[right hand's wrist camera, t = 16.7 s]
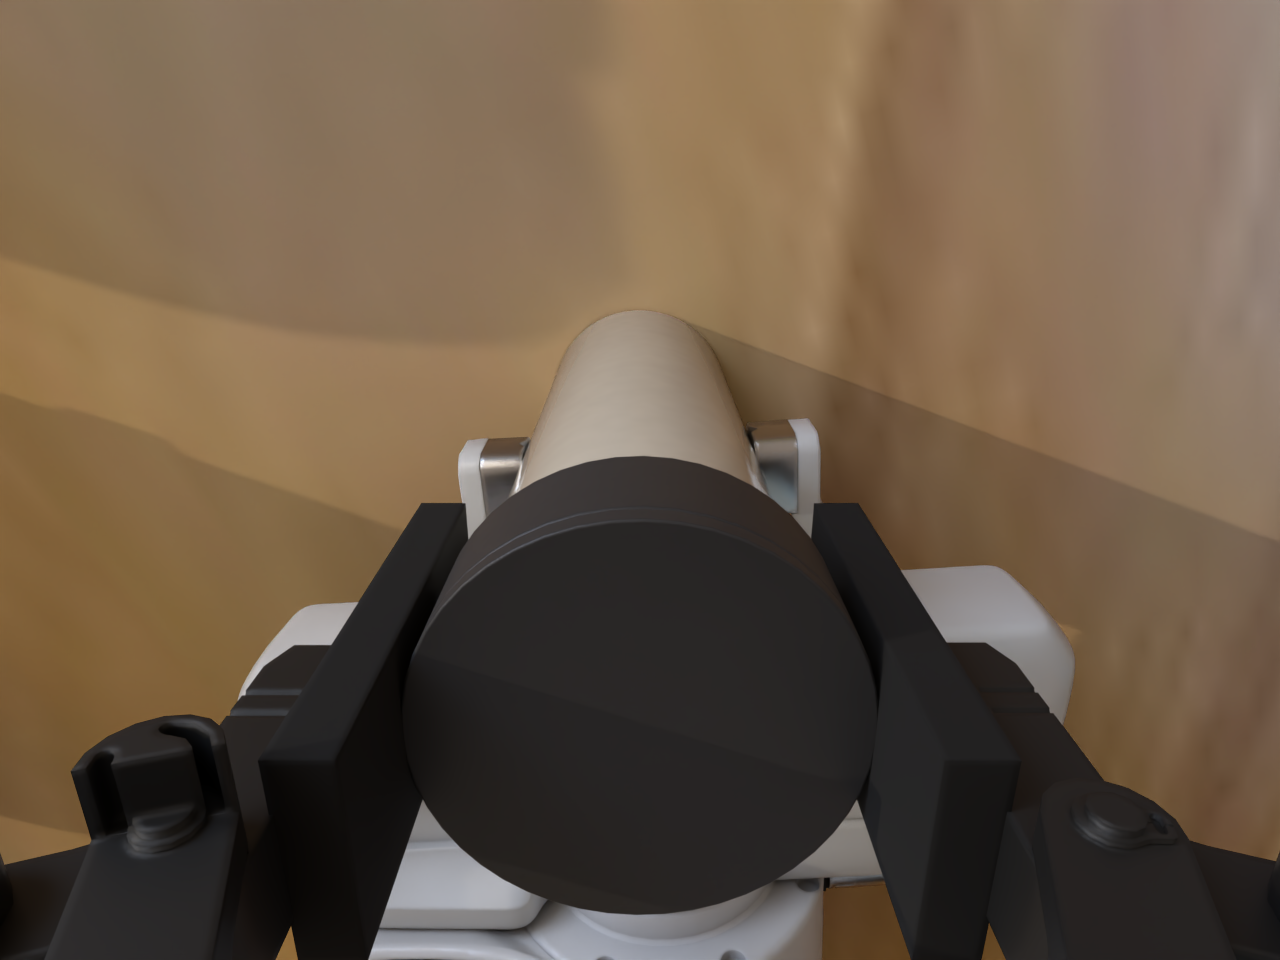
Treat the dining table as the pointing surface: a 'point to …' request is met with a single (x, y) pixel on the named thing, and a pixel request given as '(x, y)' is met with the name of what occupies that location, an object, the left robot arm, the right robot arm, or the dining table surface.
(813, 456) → the left robot arm
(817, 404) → the dining table surface
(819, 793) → the lid
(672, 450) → the jar
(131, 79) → the dining table surface
